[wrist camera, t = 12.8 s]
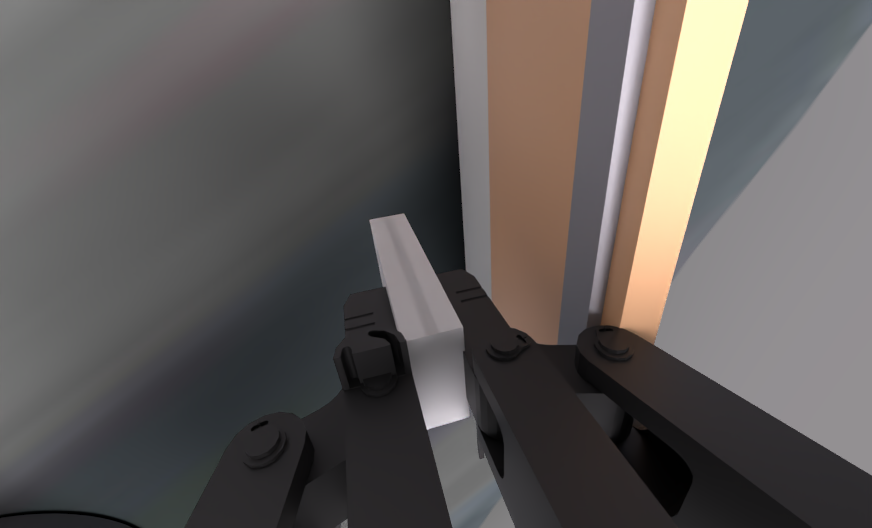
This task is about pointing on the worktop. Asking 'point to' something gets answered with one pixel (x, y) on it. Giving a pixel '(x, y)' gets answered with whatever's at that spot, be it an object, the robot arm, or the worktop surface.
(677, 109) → the duct cover
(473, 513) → the worktop surface
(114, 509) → the worktop surface
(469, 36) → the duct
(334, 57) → the worktop surface
